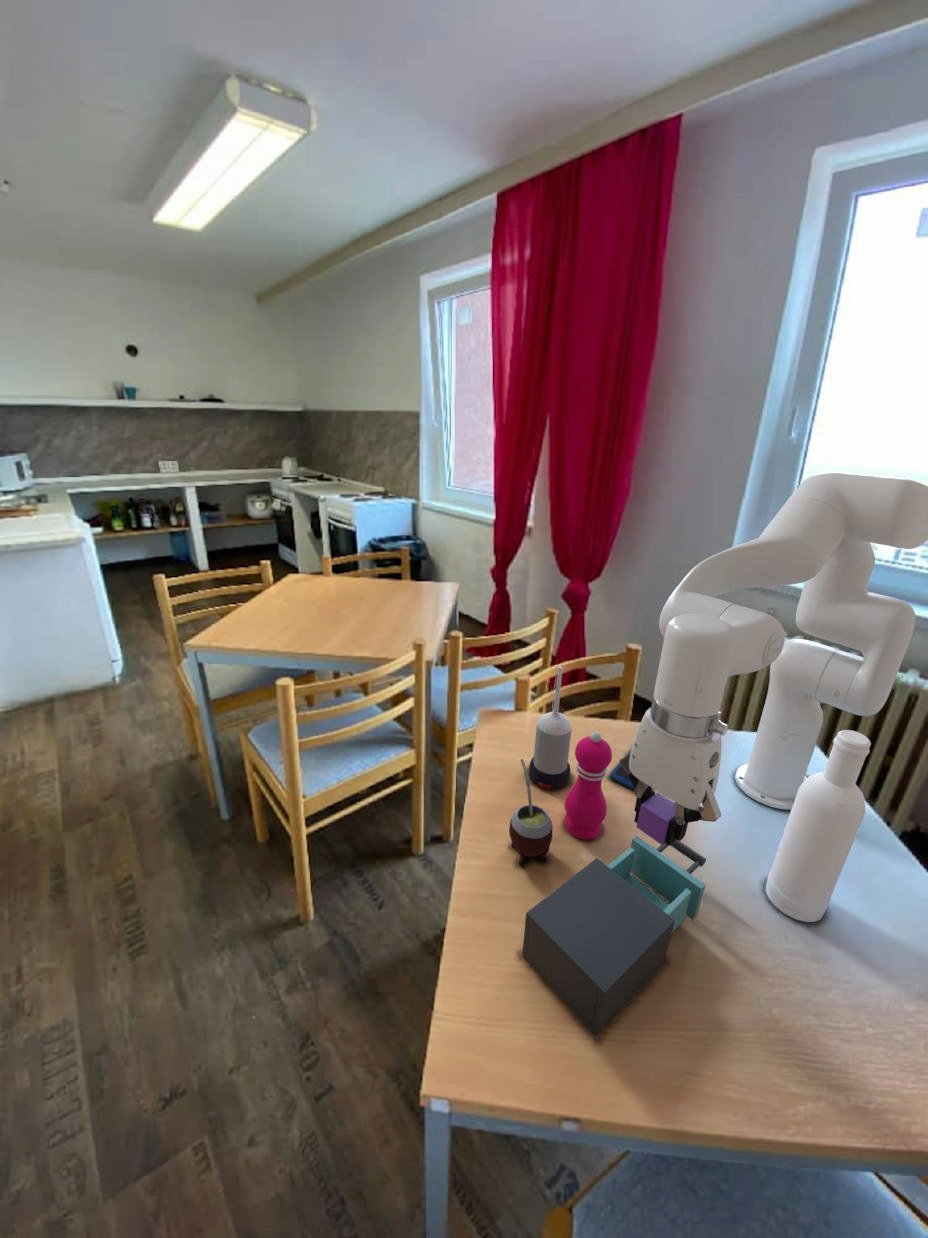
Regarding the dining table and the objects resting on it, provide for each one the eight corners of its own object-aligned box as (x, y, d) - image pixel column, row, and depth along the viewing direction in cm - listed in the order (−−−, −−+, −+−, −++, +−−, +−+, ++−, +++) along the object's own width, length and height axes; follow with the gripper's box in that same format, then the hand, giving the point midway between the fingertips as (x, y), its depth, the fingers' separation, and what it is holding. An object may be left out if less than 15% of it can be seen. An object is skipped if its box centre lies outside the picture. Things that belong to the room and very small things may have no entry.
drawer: (650, 848, 87) (657, 819, 85) (716, 895, 79) (725, 864, 77) (575, 911, 76) (580, 879, 74) (643, 973, 68) (651, 940, 65)
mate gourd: (539, 877, 82) (547, 803, 77) (495, 855, 86) (500, 783, 80) (557, 846, 88) (566, 775, 82) (515, 827, 92) (521, 758, 86)
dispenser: (590, 897, 79) (596, 857, 76) (664, 962, 70) (675, 920, 67) (522, 954, 71) (526, 912, 68) (596, 1036, 62) (605, 993, 59)
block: (652, 814, 73) (657, 792, 72) (678, 831, 70) (684, 808, 69) (636, 827, 71) (640, 804, 69) (662, 845, 68) (667, 822, 66)
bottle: (816, 886, 82) (879, 726, 70) (831, 931, 75) (903, 761, 63) (760, 872, 84) (812, 715, 73) (769, 913, 77) (828, 747, 66)
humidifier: (537, 793, 100) (548, 679, 90) (523, 766, 107) (531, 658, 98) (576, 787, 102) (590, 675, 92) (559, 761, 109) (571, 655, 100)
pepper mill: (604, 845, 89) (620, 749, 81) (561, 838, 90) (573, 742, 82) (602, 815, 95) (617, 723, 87) (562, 809, 96) (574, 717, 89)
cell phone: (669, 760, 110) (669, 757, 110) (643, 795, 100) (643, 791, 100) (636, 746, 114) (636, 743, 114) (607, 778, 104) (608, 775, 104)
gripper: (767, 736, 60) (731, 855, 67) (641, 678, 72) (622, 784, 79) (736, 760, 55) (702, 885, 62) (607, 694, 67) (590, 805, 74)
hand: (657, 828), depth 70 cm, fingers closed on block, 4 cm apart
